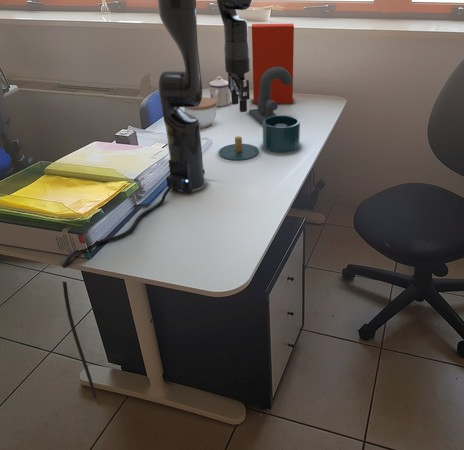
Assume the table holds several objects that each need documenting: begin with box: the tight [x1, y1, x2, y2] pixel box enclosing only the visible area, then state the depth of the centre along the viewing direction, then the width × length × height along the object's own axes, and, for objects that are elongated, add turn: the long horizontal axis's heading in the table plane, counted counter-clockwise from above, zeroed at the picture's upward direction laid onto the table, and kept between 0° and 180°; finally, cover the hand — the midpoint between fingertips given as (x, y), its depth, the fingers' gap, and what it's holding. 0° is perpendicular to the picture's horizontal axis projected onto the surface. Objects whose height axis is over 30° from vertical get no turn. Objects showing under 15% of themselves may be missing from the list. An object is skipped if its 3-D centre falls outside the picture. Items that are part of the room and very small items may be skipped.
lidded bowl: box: [183, 96, 217, 129], centre depth 181 cm, size 13×13×11 cm
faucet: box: [248, 67, 292, 126], centre depth 186 cm, size 18×16×20 cm
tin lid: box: [218, 136, 260, 162], centre depth 157 cm, size 14×14×6 cm
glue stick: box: [275, 124, 287, 127], centre depth 161 cm, size 4×4×8 cm
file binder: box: [251, 23, 295, 105], centre depth 201 cm, size 8×17×32 cm, turn 90°
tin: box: [262, 114, 301, 154], centre depth 161 cm, size 13×13×10 cm
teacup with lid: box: [208, 76, 231, 107], centre depth 203 cm, size 12×9×12 cm
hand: (239, 107), depth 150 cm, fingers open, 8 cm apart
